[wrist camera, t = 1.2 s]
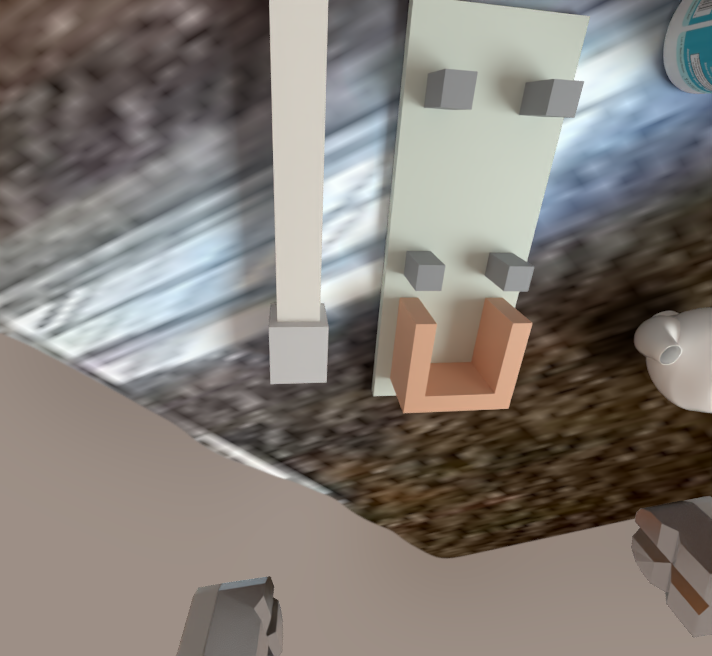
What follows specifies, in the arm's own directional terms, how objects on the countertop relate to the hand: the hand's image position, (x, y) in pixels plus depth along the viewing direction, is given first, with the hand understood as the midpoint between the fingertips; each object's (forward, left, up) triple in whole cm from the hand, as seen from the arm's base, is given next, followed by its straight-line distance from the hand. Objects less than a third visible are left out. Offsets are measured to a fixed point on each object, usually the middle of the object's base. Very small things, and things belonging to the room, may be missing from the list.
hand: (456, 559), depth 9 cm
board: (0, +10, -27) cm, 29 cm away
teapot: (+9, +33, -27) cm, 44 cm away
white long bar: (-2, -3, -27) cm, 27 cm away
